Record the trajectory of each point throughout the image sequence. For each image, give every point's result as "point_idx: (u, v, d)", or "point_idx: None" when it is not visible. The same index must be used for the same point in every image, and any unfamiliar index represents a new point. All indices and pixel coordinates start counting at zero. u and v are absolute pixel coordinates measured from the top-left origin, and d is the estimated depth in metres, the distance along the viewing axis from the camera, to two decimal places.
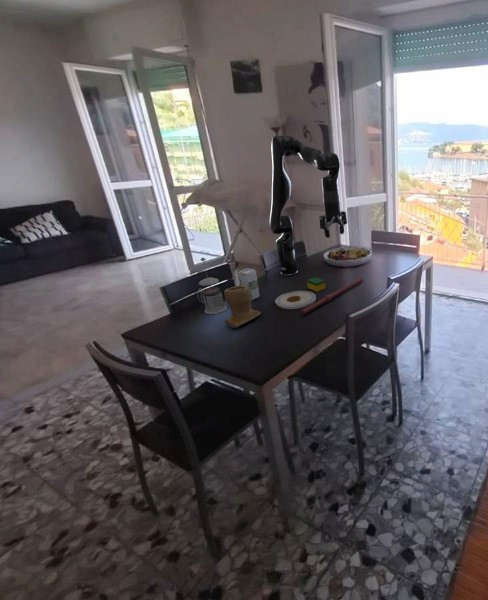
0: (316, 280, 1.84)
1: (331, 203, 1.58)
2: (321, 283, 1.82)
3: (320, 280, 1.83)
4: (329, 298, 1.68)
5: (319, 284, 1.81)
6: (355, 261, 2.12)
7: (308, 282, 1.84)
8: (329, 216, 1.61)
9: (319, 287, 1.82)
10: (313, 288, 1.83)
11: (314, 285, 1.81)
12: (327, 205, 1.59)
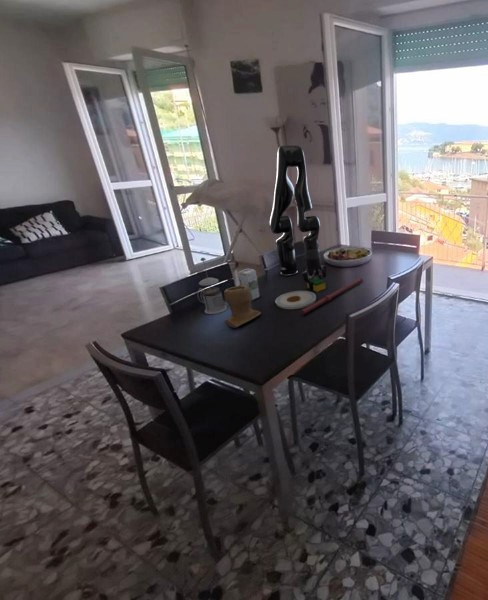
0: (316, 280, 1.84)
1: (312, 260, 1.75)
2: (321, 283, 1.82)
3: (320, 280, 1.83)
4: (329, 298, 1.68)
5: (319, 284, 1.81)
6: (355, 261, 2.12)
7: None
8: (310, 270, 1.79)
9: (319, 287, 1.82)
10: None
11: (314, 285, 1.81)
12: (308, 261, 1.76)
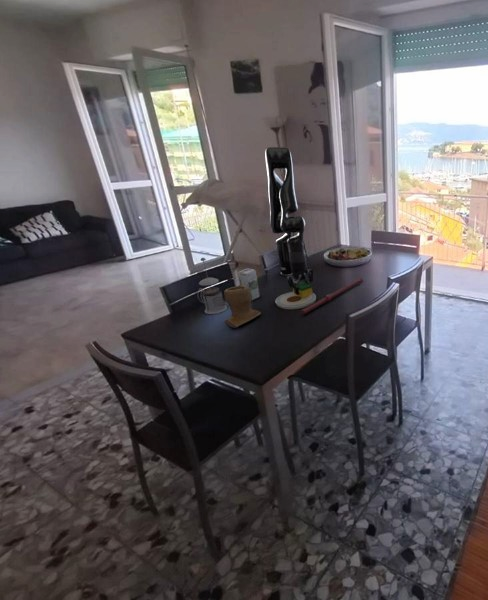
0: (302, 285, 1.71)
1: (297, 263, 1.63)
2: (307, 288, 1.70)
3: (306, 285, 1.71)
4: (329, 298, 1.68)
5: (305, 289, 1.69)
6: (355, 261, 2.12)
7: None
8: (296, 274, 1.66)
9: (305, 293, 1.70)
10: (299, 293, 1.70)
11: (300, 290, 1.69)
12: (293, 264, 1.64)
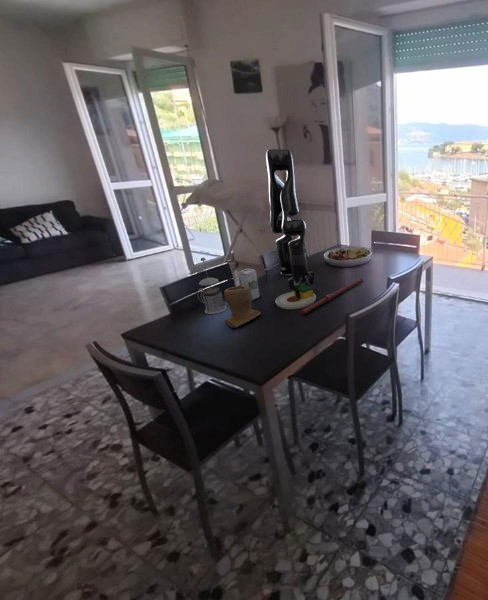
0: (303, 287, 1.72)
1: (298, 266, 1.64)
2: (308, 290, 1.71)
3: (307, 287, 1.72)
4: (329, 298, 1.68)
5: (306, 291, 1.70)
6: (355, 261, 2.12)
7: None
8: (296, 277, 1.67)
9: (306, 295, 1.70)
10: (300, 295, 1.71)
11: (301, 292, 1.70)
12: (294, 267, 1.65)
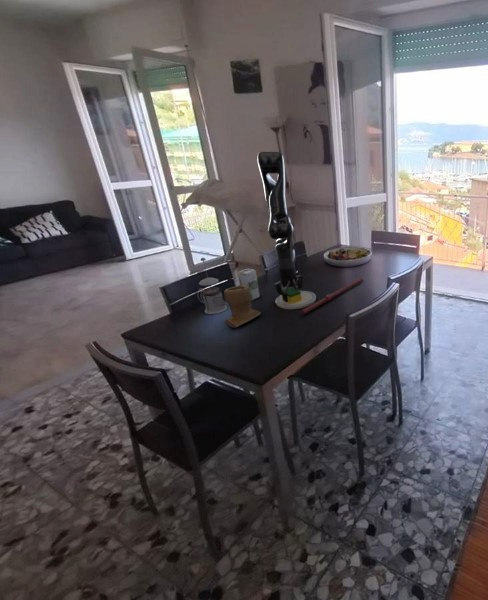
0: (291, 291, 1.68)
1: (285, 269, 1.60)
2: (296, 294, 1.66)
3: (295, 291, 1.67)
4: (329, 298, 1.68)
5: (294, 295, 1.65)
6: (355, 261, 2.12)
7: None
8: (284, 281, 1.63)
9: (294, 299, 1.66)
10: None
11: (289, 297, 1.65)
12: (281, 271, 1.60)
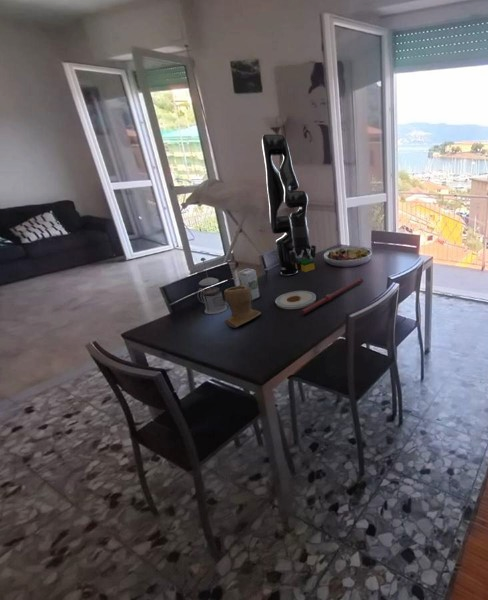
0: (304, 260, 1.73)
1: (299, 238, 1.65)
2: (310, 263, 1.71)
3: (309, 260, 1.73)
4: (329, 298, 1.68)
5: (307, 264, 1.71)
6: (355, 261, 2.12)
7: None
8: (298, 250, 1.68)
9: (307, 267, 1.71)
10: (301, 268, 1.72)
11: (302, 265, 1.70)
12: (296, 239, 1.65)
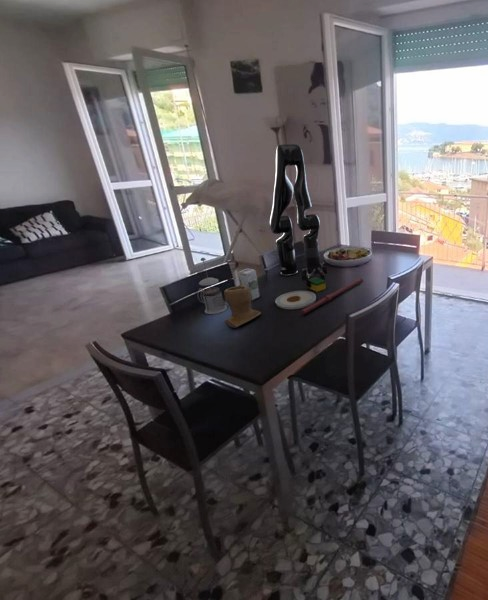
0: (316, 280, 1.83)
1: (312, 258, 1.75)
2: (321, 283, 1.82)
3: (320, 280, 1.83)
4: (329, 298, 1.68)
5: (319, 284, 1.81)
6: (355, 261, 2.12)
7: None
8: (310, 269, 1.78)
9: (319, 287, 1.82)
10: (313, 288, 1.83)
11: (315, 285, 1.81)
12: (308, 259, 1.76)
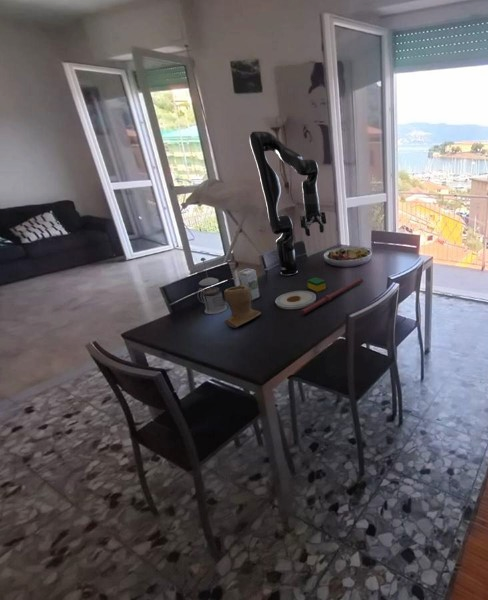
0: (316, 280, 1.83)
1: (310, 204, 1.75)
2: (321, 283, 1.82)
3: (320, 280, 1.83)
4: (329, 298, 1.68)
5: (319, 284, 1.81)
6: (355, 261, 2.12)
7: (308, 282, 1.84)
8: (309, 216, 1.78)
9: (319, 287, 1.82)
10: (313, 288, 1.83)
11: (315, 285, 1.81)
12: (307, 206, 1.75)
